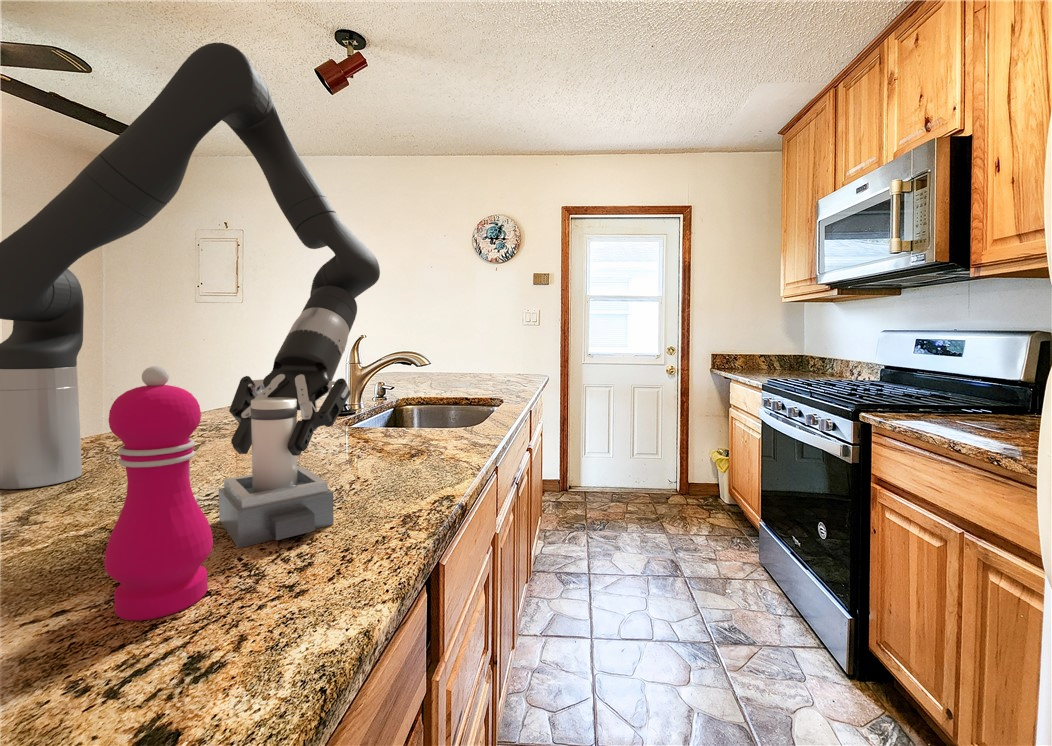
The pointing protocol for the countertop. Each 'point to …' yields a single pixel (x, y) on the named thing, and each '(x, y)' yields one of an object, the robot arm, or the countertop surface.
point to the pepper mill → (157, 503)
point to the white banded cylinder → (273, 443)
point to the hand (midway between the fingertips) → (266, 450)
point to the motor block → (274, 509)
